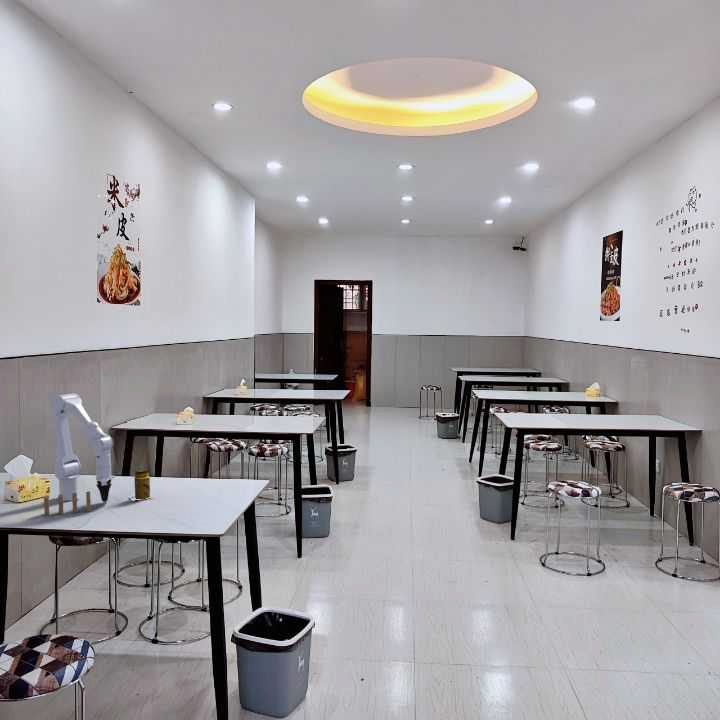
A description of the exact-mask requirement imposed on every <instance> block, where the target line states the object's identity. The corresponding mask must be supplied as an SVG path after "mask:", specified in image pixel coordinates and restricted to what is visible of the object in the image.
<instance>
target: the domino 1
mask: <svg viewBox="0 0 720 720" xmlns="http://www.w3.org/2000/svg"><path fill="white" fill-rule="evenodd" d="M49 495H50V494H49ZM49 495H44V498H43V504H44V505H43V507H44V517H49V516H50V513H51V512H50V496H49Z"/></svg>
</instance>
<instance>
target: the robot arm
mask: <svg viewBox="0 0 720 720" xmlns="http://www.w3.org/2000/svg"><path fill="white" fill-rule="evenodd" d="M82 402H83V400H82V399H81V398H80V396H79V394H77V393H76V392H73V393H65V394H59V395H58V394H57V395H54V397H52V400H51V401H50V403H51V410H52V419H53V427H54V434H55V438H56V444H57V451H58V456H57V458H56V459H55V460H54V462H53V464H54V469H53V474H54V476H55V478H56V479H57V480H58V485H59V486H58V487H59V488H58V489H59V494H63V502H69V501H70V502H72V494H73V493H77V501H79V500H80V495H81V494H80V493H79V482H78V477H80V474H81V472H82V464H81V462H80V460H79V456H78V455H76V454H74V452H73V445H72V440H71V439H72V438H71V434H70V426H69V420H68V419H69V418H68V416H69V415H70V414H73V415H74V416H75V417H76V418H77V420H78V421H79V422H80V423H81V424H82V426H83V432H84V433H85V435H86V436H87V437H88V439H89V440H90V442H91V443H92V444H91V448H92V450H93V454H94V456H95V473H96V476H95V480H96V487H97V489H98V491H99V495H100V499H101V502H103V501H109V492H110V489H111V486H112V483H111V482H112V479H114V478H115V475H112V460H111V459H112V457H111V449H112V448H113V447H114V440H113V437H112V436H111V435H109V434H107V433H104V431H103V430H102V428H101V427H100V425H99V424H98V422H96V421H92V420H91V418H90V416H89V415H88V413H87V411H86V410H85V409H84V406H83V405H82Z"/></svg>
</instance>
